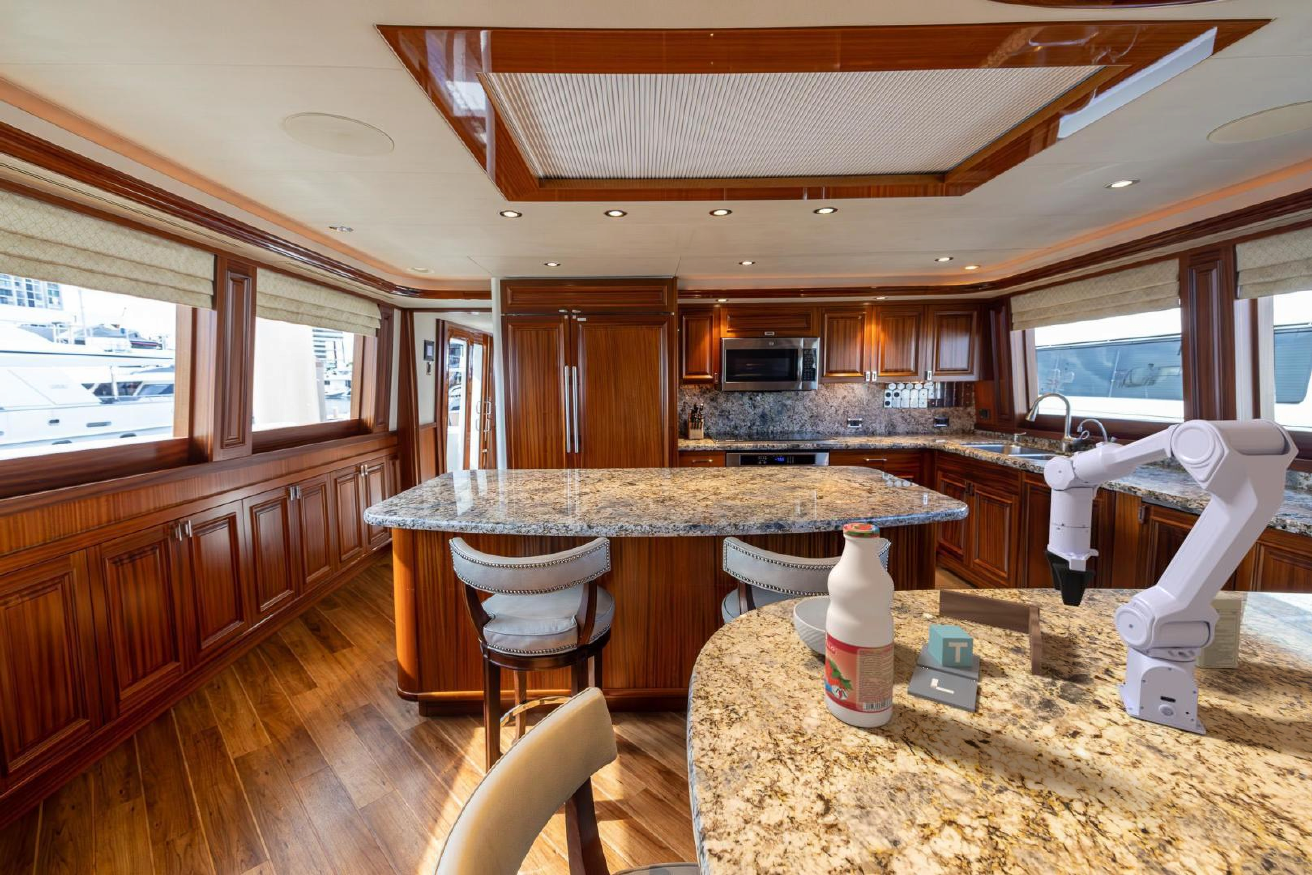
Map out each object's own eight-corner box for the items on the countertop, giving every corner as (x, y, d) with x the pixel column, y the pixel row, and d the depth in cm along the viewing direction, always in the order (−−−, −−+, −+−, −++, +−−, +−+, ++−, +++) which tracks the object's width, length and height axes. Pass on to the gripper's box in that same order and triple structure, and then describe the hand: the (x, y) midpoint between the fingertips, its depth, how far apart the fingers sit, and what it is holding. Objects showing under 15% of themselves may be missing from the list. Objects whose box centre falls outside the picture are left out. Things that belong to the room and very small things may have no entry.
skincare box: (1214, 656, 91) (1219, 589, 90) (1239, 669, 87) (1244, 599, 86) (1174, 655, 92) (1178, 588, 91) (1197, 667, 87) (1202, 598, 86)
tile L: (974, 712, 76) (974, 709, 76) (907, 693, 81) (907, 690, 81) (977, 684, 83) (977, 681, 83) (915, 668, 88) (915, 665, 88)
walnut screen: (1043, 676, 85) (1045, 644, 85) (928, 649, 95) (929, 620, 94) (1038, 633, 101) (1039, 606, 100) (939, 613, 110) (940, 588, 110)
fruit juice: (892, 736, 71) (897, 537, 69) (821, 720, 75) (824, 531, 72) (891, 699, 80) (896, 521, 77) (827, 686, 83) (830, 516, 81)
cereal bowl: (783, 660, 92) (783, 622, 91) (803, 623, 106) (803, 590, 106) (887, 684, 84) (888, 642, 83) (893, 641, 98) (894, 605, 98)
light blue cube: (972, 667, 88) (973, 638, 87) (942, 666, 88) (943, 638, 88) (957, 652, 93) (958, 625, 92) (928, 651, 93) (929, 624, 93)
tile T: (977, 681, 84) (977, 678, 84) (916, 665, 89) (916, 662, 89) (980, 658, 92) (980, 655, 92) (923, 644, 97) (923, 642, 97)
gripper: (1111, 536, 84) (1106, 617, 85) (1088, 517, 96) (1084, 588, 98) (1056, 531, 87) (1053, 609, 88) (1042, 513, 100) (1038, 581, 101)
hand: (1066, 597), depth 93 cm, fingers open, 7 cm apart
